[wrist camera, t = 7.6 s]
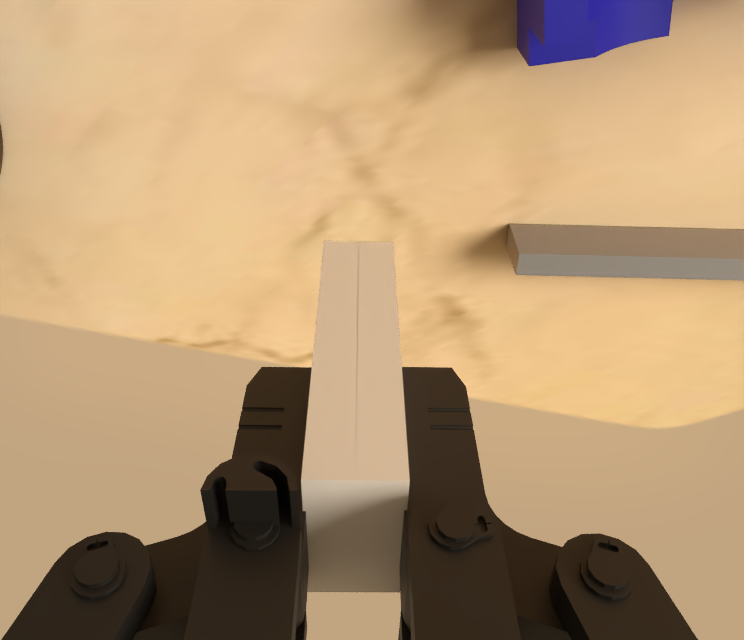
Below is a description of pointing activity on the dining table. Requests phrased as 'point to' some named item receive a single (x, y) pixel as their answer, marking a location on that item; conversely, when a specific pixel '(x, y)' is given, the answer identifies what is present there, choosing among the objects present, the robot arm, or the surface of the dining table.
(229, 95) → the dining table surface
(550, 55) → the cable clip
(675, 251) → the gray u-shaped frame
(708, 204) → the dining table surface
